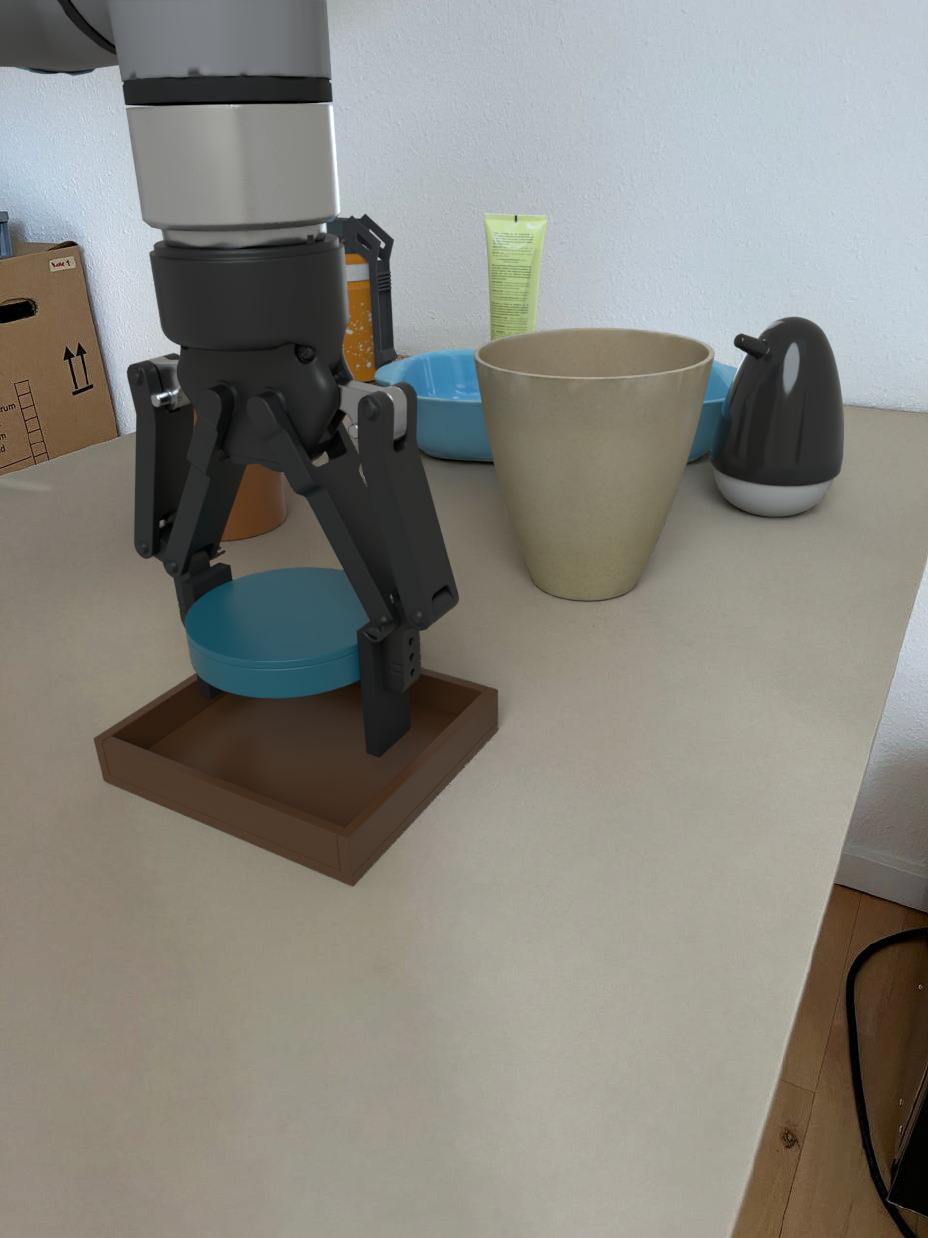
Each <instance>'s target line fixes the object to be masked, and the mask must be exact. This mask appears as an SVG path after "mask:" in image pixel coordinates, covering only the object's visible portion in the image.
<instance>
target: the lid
mask: <svg viewBox="0 0 928 1238" xmlns="http://www.w3.org/2000/svg"><path fill="white" fill-rule="evenodd" d="M390 598H391V599H392V598H393V597H392V596H391V597H390ZM368 622H370V619H369V617H368V616H367V614H366V612H365V610H364V608H363V606H362V604H361V602H360V600H359V598H358V596H357V594H356V593H355V591H354V589H353V587H352V585H351V583H350V581H349V579H348V577H347V575H346V573H345V571H344V570H343V569H339V568H338V569H337V568H331V567H318V566H317V567H316V566H301V567H300V566H299V567H298V566H297V567H286V568H285V567H283V568H278V569H277V568H276V569H271V570H270V569H269V570H265V571H259V572H256V573H252V574H247V575H244V576H241V577H238V578H234V579H233V580H232V581H229V582H227V583H224V584H222V585H220V586H218V587H216V588H214V589H213V590H211V591H209V592H207V593H206V594H205V595H203V596H202V597H201V598H199V599H198V600H197V601H196V602H195V603H194V604H193V605H192V607H191V608H190V609H189V611H188V613H187V615H186V619H185V628H184V629H185V636H186V641H187V647H188V653H189V659H190V663H191V666H192V669H193V670H194V673H197V674H198V676H199V677H201V678H202V679H203V680H204V681H205V682H207V683H208V684H210V685H212V686H213V687H216V688H218V689H220V690H223V691H226V692H229V693H233V694H237V695H242V696H247V697H256V698H273V699H275V698H294V697H304V696H309V695H315V694H320V693H324V692H328V691H332V690H335V689H338V688H341V687H344V686H347V685H349V684H352V683H354V682H356V681H358V680H360V668H359V656H358V643H357V630H359V629H360V628H361V627H363V626H364V625H365V624H367V623H368Z"/></svg>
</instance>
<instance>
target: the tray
mask: <svg viewBox="0 0 928 1238" xmlns="http://www.w3.org/2000/svg"><path fill="white" fill-rule="evenodd" d="M409 699H410V717H411V729H410V730H409V731H408V732H407V733H406V734H405V735H404V736H402V737H401V738H400V739H399V740H398V741H397V742H396V743H395V744H394V745H393V746H392V747H391V748H390V749H389V750H387V751H386V752H385V753H384V754H383V755H382V756H381V757H380V758H379V757H376V756H373V755H370V754H367V753H366V742H365V730H364V718H363V705H362V693H361V681H360V680H358V681H356V682H354V683H352V684H349V685H347V686H344V687H341V688H338V689H335V690H332V691H328V692H324V693H320V694H315V695H309V696H304V697H294V698H275V699H273V698H256V697H247V696H242V695H237V694H233V693H229V692H226V691H224V692H222V693H221V694H219V695H218V696H216V697H215V698H213V699H212V700H210V699H207V698H204V697H201V696H200V691H199V685H198V680H197V674H196V672H194V673H193V674H192V675H190V676H188V677H187V678H185V679H184V680H182V681H180V682H179V683H178V684H175V686H173V687H171V688H170V689H168V690H167V691H165V692H164V693H162V694H161V695H159V696H157V697H155V698H154V699H152V700H151V701H150V702H148V703H146V704H145V705H143V706H141V707H140V708H139V709H137V710H135V711H134V712H132V713H131V714H129V715H127V716H126V717H125V718H122V719H121V720H120V721H118V722H117V723H114V725H112V726H111V727H109V728H107V729H106V730H104V731H103V732H101V733H99V734H97V735H96V736H94V737H93V743H94V746H95V752H96V755H97V760H98V763H99V767H100V771H101V775H102V780H103V782H105V783H108V784H110V785H112V786H113V787H114V786H115V787H117V788H119V789H122V790H124V791H126V792H129V793H131V794H134V795H136V796H138V797H141V798H142V799H145V800H148V801H150V802H152V803H154V804H157V805H159V806H161V807H164V808H165V809H169V810H171V811H173V812H176V813H178V814H180V815H183V816H185V817H187V818H190V819H192V820H195V821H197V822H199V823H202V824H204V825H207V826H209V827H211V828H214V829H215V830H218V831H220V832H223V833H225V834H228V835H229V836H233V837H234V838H237V839H239V840H242V841H244V842H247V843H249V844H250V845H251V844H252V845H253V846H256V847H258V848H262V849H264V850H265V851H268V852H270V853H272V854H274V855H276V856H277V855H278V856H280V857H282V858H283V859H287V860H289V861H292V862H293V863H296V864H299V865H301V866H303V867H305V868H308V869H309V870H310V869H311V870H312V871H315V872H318V873H320V874H321V875H325V876H327V877H329V878H332V879H334V880H336V881H339V882H340V883H343V884H346V885H348V886H350V887H353V886H355V885H356V883H358V882H359V881H360V880H361V878H363V876H364V875H365V874H366V873H367V872H368V871H369V870H370V868H372V866H373V865H374V864H375V863H376V862H377V861H378V860H379V859H380V858H381V857H382V856H383V854H384V853H385V852H387V850H388V849H389V848H390V847H391V846H392V845H393V844H394V843H395V842H396V841H397V839H399V837H400V836H401V835H402V834H403V833H404V832H405V831H406V830H407V829H408V828H409V827H410V826H411V824H412V823H414V821H415V820H416V819H417V818H418V817H419V815H421V814H422V813H423V812H424V810H426V809H427V807H428V806H429V805H430V804H431V803H432V802H433V801H434V800H435V799H436V798H437V796H439V794H440V793H442V792H443V790H444V789H445V788H446V787H447V786H448V785H449V784H450V782H452V780H454V778H455V777H456V776H457V775H459V773H460V772H461V771H462V770H463V769H464V767H466V765H467V764H468V763H469V762H470V761H471V760H472V759H473V758H474V757H475V756H476V755H477V753H479V751H480V750H482V748H483V747H484V746H485V745H486V744H487V743H488V742H489V741H490V740H491V739H492V738H493V737H494V735H496V733H497V732H498V731H499V689H498V688H495V687H491V686H488V685H485V684H482V683H478V682H474V681H470V680H467V679H464V678H460V677H457V676H454V675H450V674H445V673H442V672H439V671H435V670H433V669H432V670H431V669H429V668H425V667H422V666H421V674H420V676H419V679H418V681H416V682H415V683H414V684H413V685H412V686H411V687H409Z"/></svg>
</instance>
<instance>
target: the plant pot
mask: <svg viewBox="0 0 928 1238" xmlns="http://www.w3.org/2000/svg"><path fill="white" fill-rule="evenodd" d="M715 354H716V351H715V350H714V348H713V347H712V346H711V345H709V344H708V343H706V342H704V341H702V340H699V339H697V338H693V337H690V336H685V335H682V334H676V333H671V332H666V331H656V330H647V329H638V328H623V327H622V328H621V327H567V328H554V329H545V330H543V329H542V330H535V331H534V332H527V333H522V334H515V335H510V336H506V337H501V338H498V339H495V340H492V341H491V340H489V341H486V342H484V343H482V344H481V345H478V346H477V348H476V350H475V351H474V360H475V367H476V373H477V379H478V385H479V391H480V397H481V403H482V408H483V414H484V420H485V425H486V430H487V435H488V439H489V444H490V448H491V453H492V457H493V461H492V462H493V464H494V469H495V473H496V477H497V480H498V483H499V484H498V485H499V487H500V490H501V491H500V492H501V494H502V497H503V501H504V505H505V508H506V511H507V514H508V517H509V521H510V523H511V526H512V530H513V532H514V535H515V538H516V540H517V543H518V546H519V549H520V552H521V554H522V556H523V557H522V558H523V559H524V561H525V564H526V566H527V569H528V571H529V574H530V576H531V579H532V581H533V583H534V585H536V586H537V588H539V589H540V590H541V591H543V592H545V593H547V594H549V595H551V596H554V597H558V598H561V599H566V600H572V601H585V602H586V601H587V602H588V601H603V600H609V599H613V598H616V597H620V596H623V595H625V594H627V593H629V592H630V591H632V590H633V589H635V587H636V585H637V584H638V582H639V580H640V578H641V576H642V574H643V572H644V570H645V568H646V566H647V564H648V562H649V560H650V557H651V556H652V554H653V551H654V549H655V547H656V545H657V542H658V540H659V537H660V535H661V533H662V531H663V528H664V526H665V524H666V521H667V519H668V516H669V514H670V512H671V509H672V506H673V503H674V500H675V498H676V495H677V492H678V490H679V487H680V484H681V481H682V478H683V476H684V472H685V470H686V466H687V464H688V463H687V460H688V457H689V454H690V451H691V447H692V444H693V441H694V437H695V433H696V430H697V426H698V422H699V419H700V415H701V411H702V406H703V402H704V398H705V394H706V390H707V385H708V381H709V377H710V373H711V368H712V364H713V360H715Z"/></svg>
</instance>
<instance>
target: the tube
mask: <svg viewBox="0 0 928 1238" xmlns="http://www.w3.org/2000/svg"><path fill="white" fill-rule="evenodd" d="M483 224H484V225H483V226H484V232H485V244H486V256H487V272H488V273H487V274H488V291H489V292H488V293H489V294H488V295H489V317H490V319H489V322H490V341H492V340H495V339H498V338H501V337H506V336H510V335H515V334H522V333H527V332H534V331H536V326H537V325H536V324H537V310H538V300H539V298H538V297H539V285H540V277H541V267H542V259H543V250H544V244H545V243H544V242H545V235H546V230H547V226H548V225H547V224H548V215H546V214H512V213H511V214H508V213H491V212H490V213H488V212H484V213H483Z"/></svg>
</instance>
